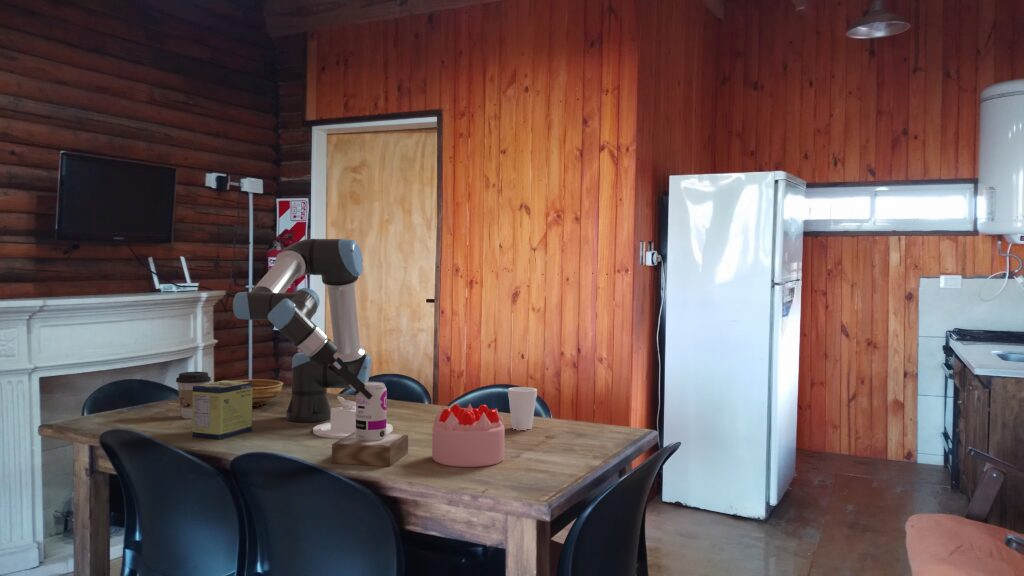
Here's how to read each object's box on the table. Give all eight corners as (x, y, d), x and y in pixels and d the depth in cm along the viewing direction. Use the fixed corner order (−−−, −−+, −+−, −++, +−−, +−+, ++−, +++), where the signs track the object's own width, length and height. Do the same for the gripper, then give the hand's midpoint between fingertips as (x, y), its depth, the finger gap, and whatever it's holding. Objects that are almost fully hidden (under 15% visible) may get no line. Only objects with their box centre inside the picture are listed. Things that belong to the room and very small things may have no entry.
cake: (428, 467, 205) (429, 413, 205) (435, 450, 225) (436, 400, 225) (503, 468, 205) (504, 414, 205) (504, 451, 225) (505, 401, 225)
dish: (355, 443, 233) (355, 405, 233) (296, 433, 247) (296, 397, 247) (408, 430, 254) (408, 395, 254) (351, 421, 268) (352, 388, 267)
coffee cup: (167, 418, 266) (167, 374, 266) (192, 412, 277) (193, 370, 276) (193, 421, 262) (193, 376, 262) (218, 415, 272) (218, 372, 272)
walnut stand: (331, 463, 208) (332, 443, 207) (353, 449, 223) (353, 431, 223) (390, 466, 205) (390, 446, 205) (408, 452, 221) (408, 434, 221)
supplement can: (389, 435, 218) (389, 381, 218) (381, 442, 210) (382, 386, 209) (360, 434, 219) (361, 381, 218) (351, 441, 210) (352, 385, 210)
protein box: (253, 430, 248) (253, 381, 248) (219, 440, 234) (220, 388, 233) (225, 427, 252) (226, 379, 252) (191, 437, 237) (191, 385, 237)
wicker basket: (196, 404, 294) (197, 383, 293) (249, 396, 314) (249, 376, 314) (249, 413, 278) (249, 390, 278) (301, 404, 298) (301, 383, 298)
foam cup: (540, 427, 260) (541, 388, 260) (529, 432, 252) (530, 392, 251) (514, 424, 264) (515, 386, 264) (502, 429, 256) (503, 389, 255)
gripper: (302, 353, 219) (355, 404, 225) (313, 363, 196) (372, 420, 201) (322, 333, 221) (374, 385, 227) (335, 341, 198) (393, 398, 203)
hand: (373, 401), depth 214 cm, fingers open, 13 cm apart
